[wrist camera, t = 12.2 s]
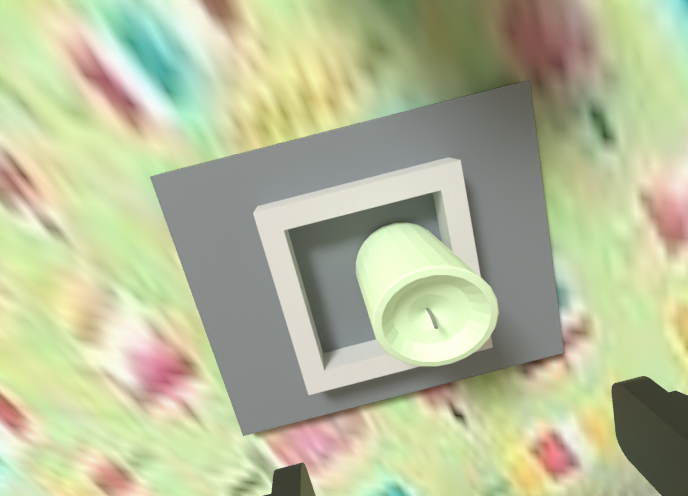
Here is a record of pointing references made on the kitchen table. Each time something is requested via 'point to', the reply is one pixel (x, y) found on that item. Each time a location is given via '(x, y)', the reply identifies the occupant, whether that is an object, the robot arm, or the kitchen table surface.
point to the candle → (423, 297)
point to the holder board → (345, 242)
